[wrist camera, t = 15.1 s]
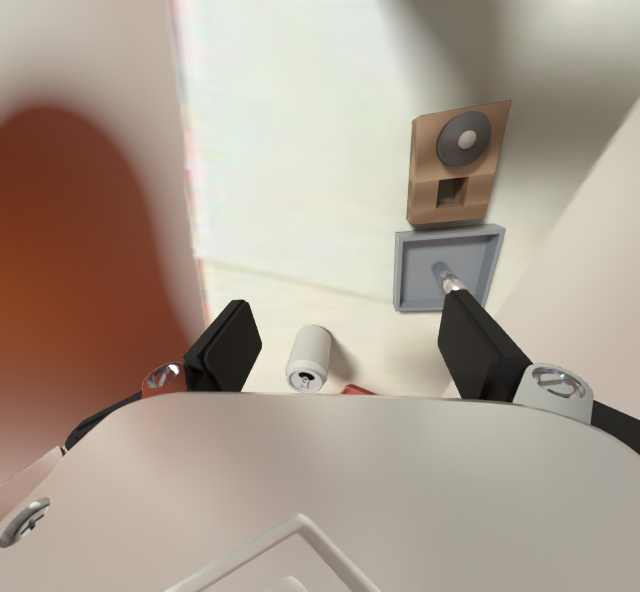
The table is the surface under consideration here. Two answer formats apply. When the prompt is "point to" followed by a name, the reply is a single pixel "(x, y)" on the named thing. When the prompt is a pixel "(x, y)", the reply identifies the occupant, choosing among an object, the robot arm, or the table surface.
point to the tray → (456, 251)
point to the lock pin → (447, 277)
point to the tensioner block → (454, 161)
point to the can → (309, 360)
